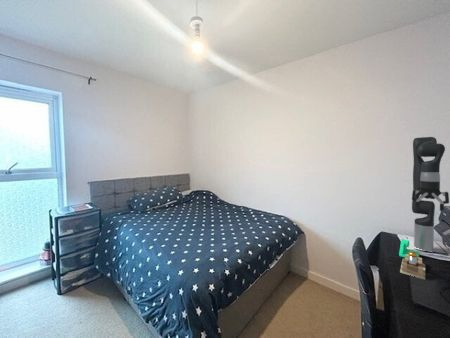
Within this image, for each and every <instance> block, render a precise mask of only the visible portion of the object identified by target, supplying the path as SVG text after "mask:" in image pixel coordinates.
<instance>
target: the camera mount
mask: <svg viewBox="0 0 450 338" xmlns="http://www.w3.org/2000/svg"><path fill="white" fill-rule="evenodd" d="M399 246H400V247H399V251H398V255H399V257H402V258H405V256H406V255H408V252H409V251H412V252H415V253H417V257H419V258H420V254H421V253H420V252H421V251H418V250H417V251H416V250H412V249H410V248H409V247H410V240H409V239H403V238H401V240H400V245H399Z"/></svg>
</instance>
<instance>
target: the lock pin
mask: <svg viewBox="0 0 450 338" xmlns="http://www.w3.org/2000/svg"><path fill="white" fill-rule="evenodd" d="M408 255H409V265H413V266H417V253H415V252H412V251H409V252H408Z"/></svg>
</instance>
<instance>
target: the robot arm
mask: <svg viewBox="0 0 450 338" xmlns="http://www.w3.org/2000/svg"><path fill="white" fill-rule="evenodd" d="M445 151H446V147H445V145H444V144H443V143H438V141H437V138H435V137H434V136H426V137H425V136H422V137H414V139H413V140H412V153H413V154H412V155H413V168H412V170H413V171H412V186H413V187H412V193H411V201H412V202H411V211H412V213H414V214H418V215H419V214H420V215H424V216H423V217H416V218H415V219H414V232H413V234H414V236H413V247H414V246H415V247H416V248H419V249H422V250H425V251H433V252H434V245H435V243H434V241H435V240H434V238H435V237H434V236H435V234H434V233H435V209H436V205H435V204H436V203H435V202H434V201H432V200H437V202H439V212H443V211H444V210H445V209H444V208H445V205H446V204H449V203H450V197H449V192H448V191H441V188H440V187H441V174H440V165H441V161H442V158H443V156H444V153H445ZM429 157H431V158H433V157H434V158H433V159H432V160H426V161H425V159H423V158H429ZM441 195H442V197H444V200H442V199H441V198H440V197H439V196H441ZM424 198H425V199H427V200H423V199H424ZM429 199H430V200H429Z"/></svg>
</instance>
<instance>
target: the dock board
mask: <svg viewBox="0 0 450 338" xmlns="http://www.w3.org/2000/svg"><path fill="white" fill-rule="evenodd" d="M399 273H401V274H404V275H407V276H410V275H411V277H414V276H415V277H414V278H417V279H422V280H426V264H425V263H423V258H422V257H420V256H419V257H417V266H413V265H409V255H406V256H405V257H404V258H402V261H401V265H400V270H399Z"/></svg>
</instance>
